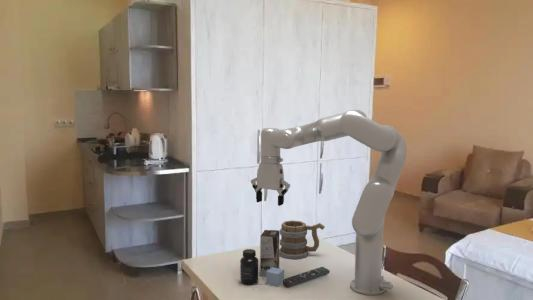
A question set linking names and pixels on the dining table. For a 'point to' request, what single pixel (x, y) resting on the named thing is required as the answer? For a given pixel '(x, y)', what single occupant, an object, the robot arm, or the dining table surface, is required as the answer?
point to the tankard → (297, 239)
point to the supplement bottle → (249, 267)
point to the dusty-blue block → (274, 276)
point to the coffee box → (269, 250)
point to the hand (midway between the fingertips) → (269, 203)
